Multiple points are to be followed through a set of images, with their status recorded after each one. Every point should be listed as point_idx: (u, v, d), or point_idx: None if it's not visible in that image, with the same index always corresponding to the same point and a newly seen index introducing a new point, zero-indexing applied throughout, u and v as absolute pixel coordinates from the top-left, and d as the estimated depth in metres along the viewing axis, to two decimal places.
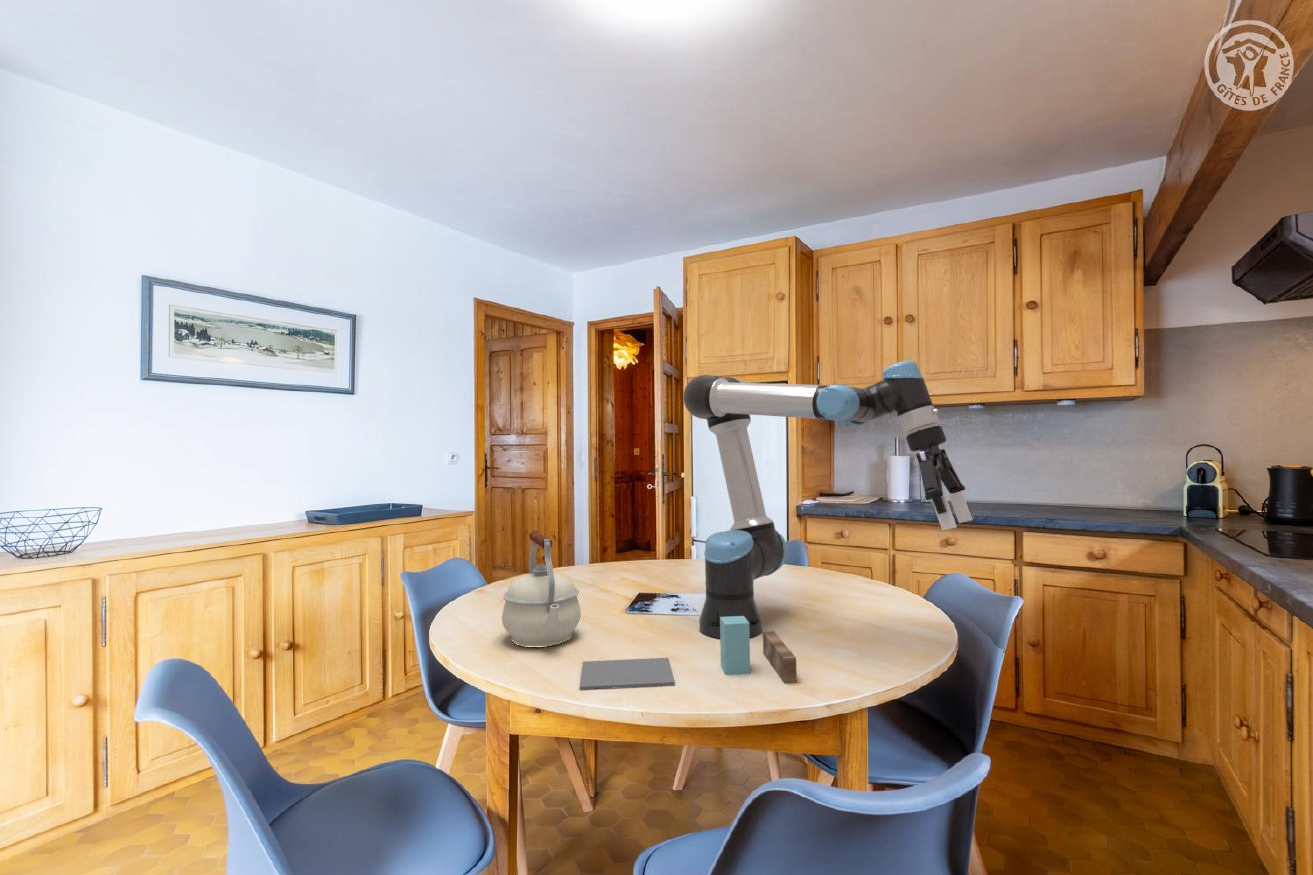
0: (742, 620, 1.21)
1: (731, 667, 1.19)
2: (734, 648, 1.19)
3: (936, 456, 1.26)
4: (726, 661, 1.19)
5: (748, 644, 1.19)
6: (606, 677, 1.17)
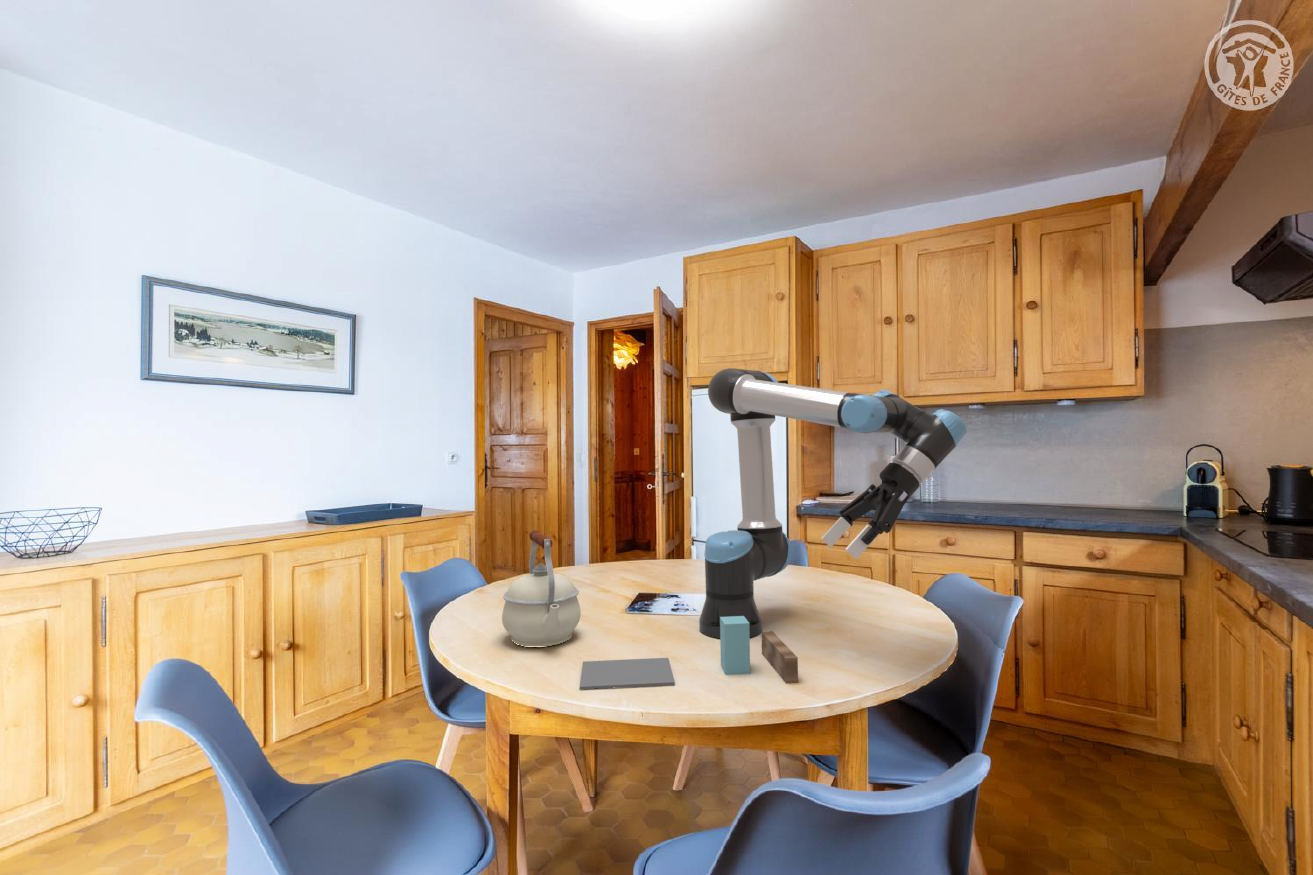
0: (742, 620, 1.21)
1: (731, 667, 1.19)
2: (734, 648, 1.19)
3: None
4: (726, 661, 1.19)
5: (748, 644, 1.19)
6: (606, 677, 1.17)
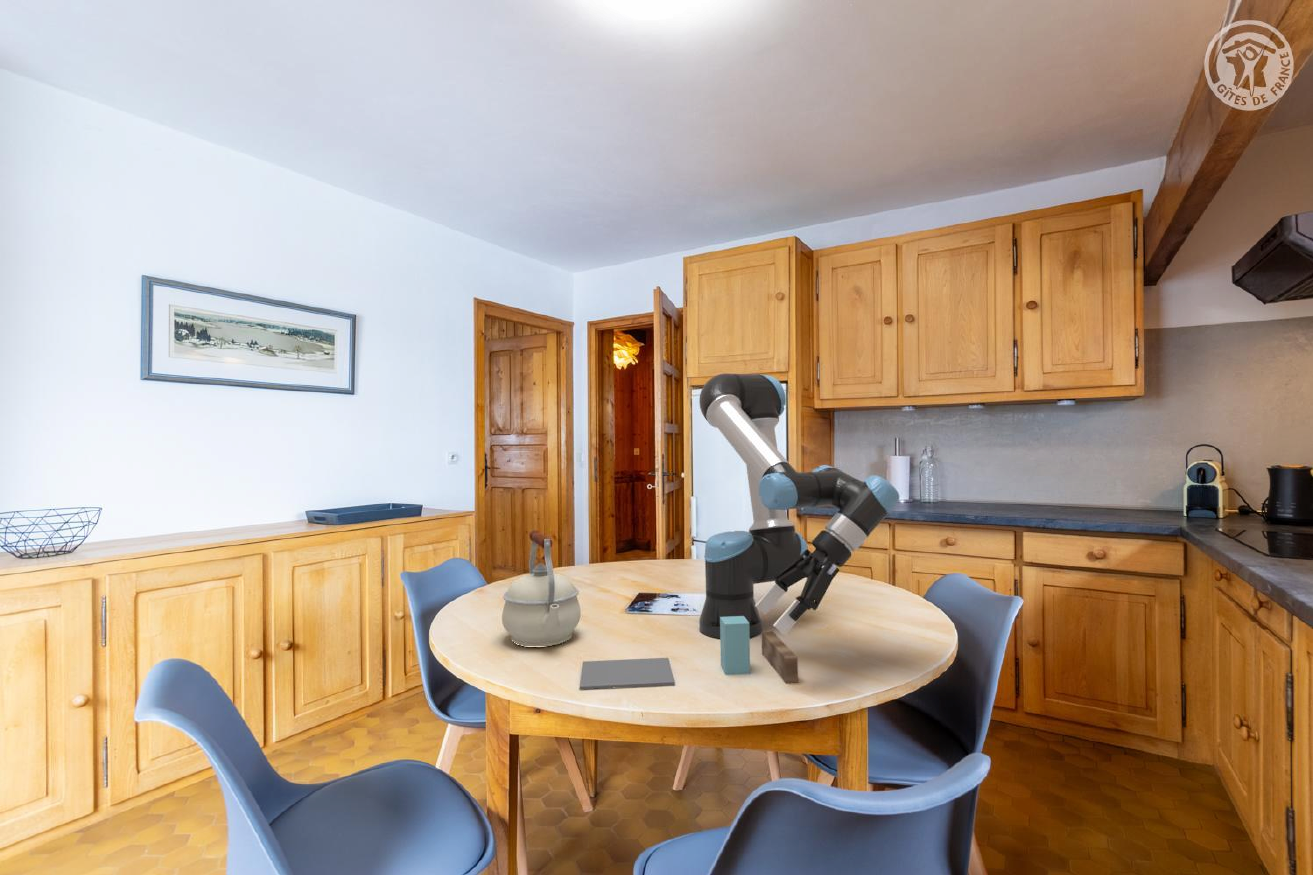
0: (742, 620, 1.21)
1: (731, 667, 1.19)
2: (734, 648, 1.19)
3: None
4: (726, 661, 1.19)
5: (748, 644, 1.19)
6: (606, 677, 1.17)
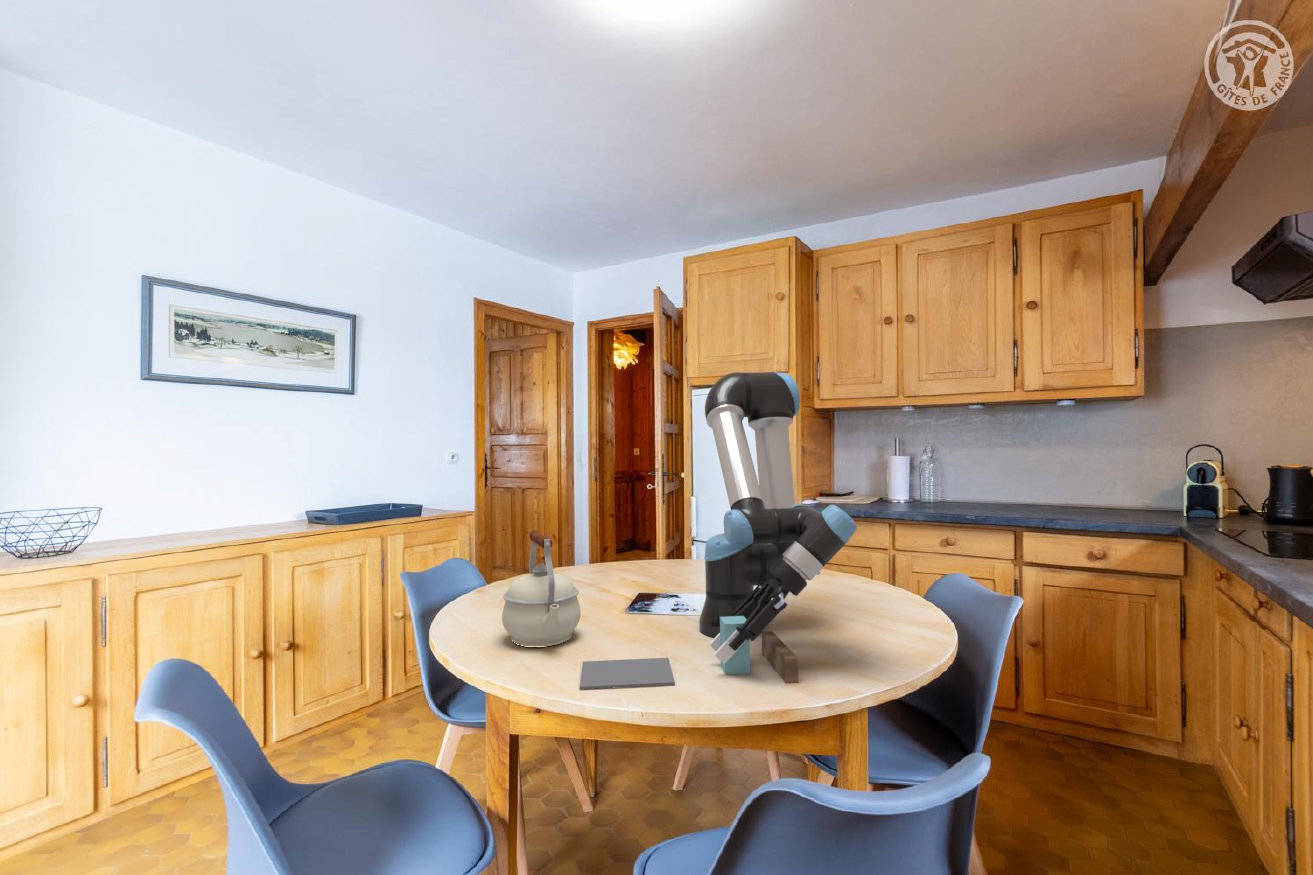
0: (742, 620, 1.21)
1: (731, 667, 1.19)
2: None
3: None
4: None
5: (748, 644, 1.19)
6: (606, 677, 1.17)
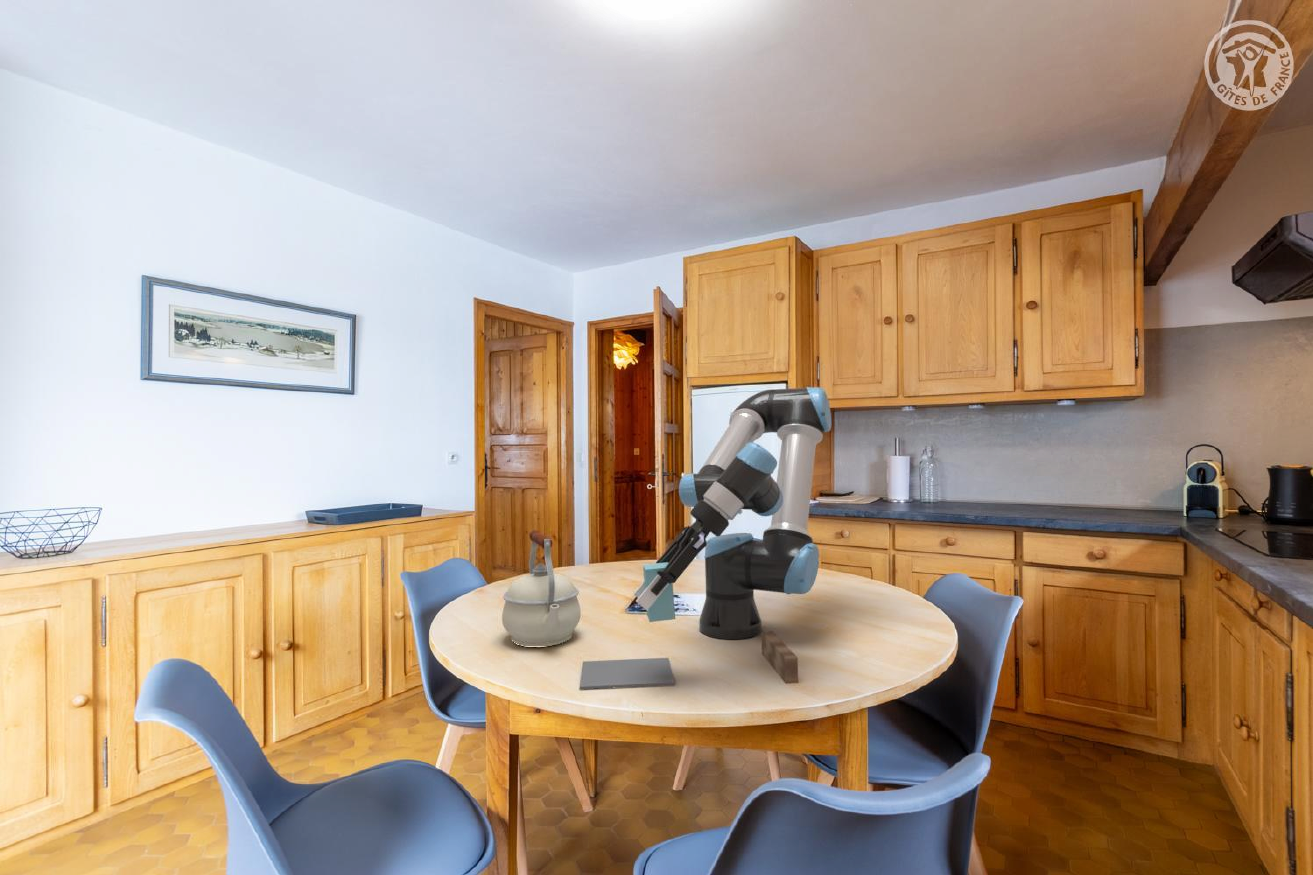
0: (665, 565, 1.17)
1: (655, 614, 1.14)
2: None
3: None
4: (649, 608, 1.14)
5: (671, 589, 1.15)
6: (606, 677, 1.17)
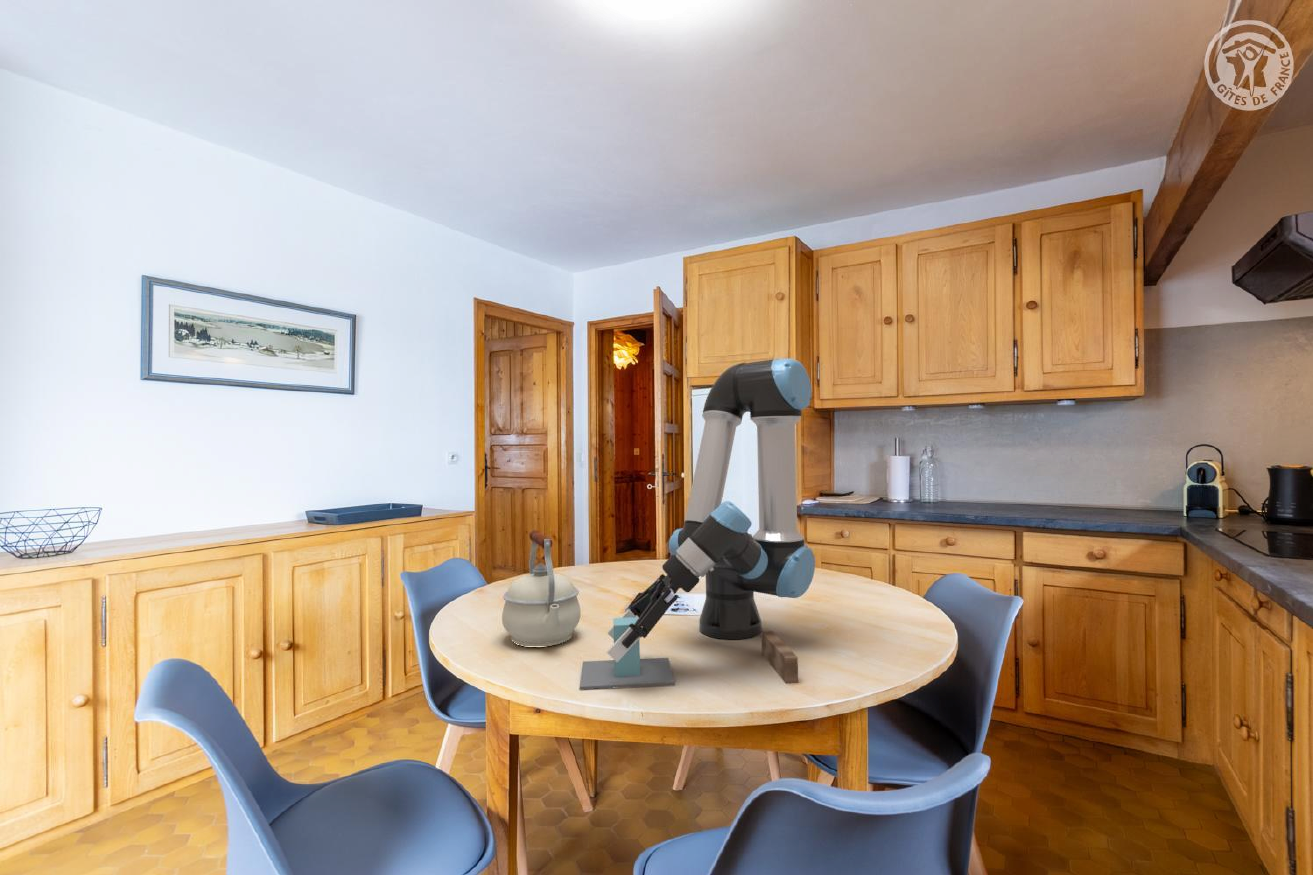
0: (633, 621, 1.19)
1: (620, 669, 1.17)
2: None
3: None
4: (615, 663, 1.17)
5: (638, 646, 1.17)
6: (606, 677, 1.17)
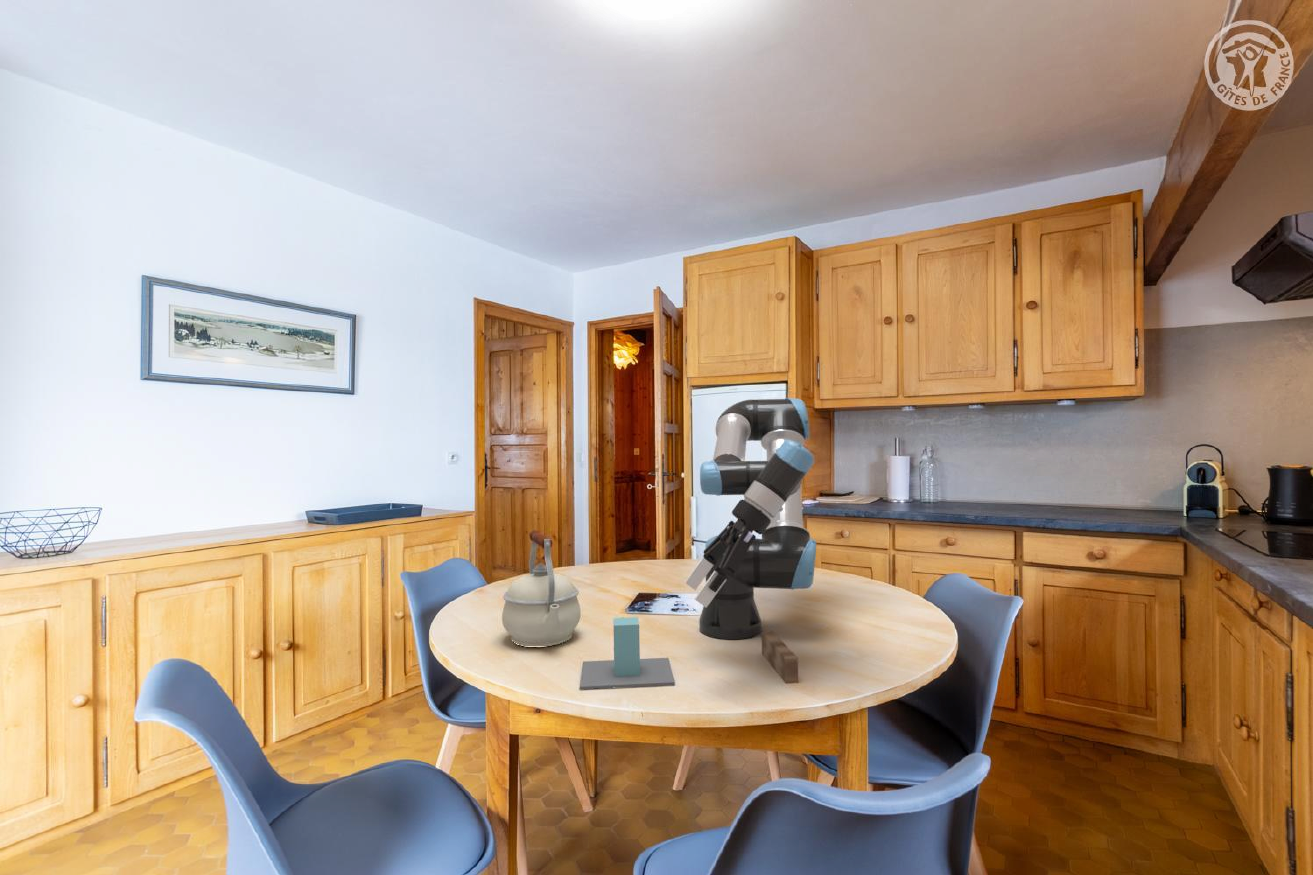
0: (633, 621, 1.19)
1: (620, 669, 1.17)
2: (623, 649, 1.17)
3: None
4: (615, 663, 1.17)
5: (638, 646, 1.17)
6: (606, 677, 1.17)
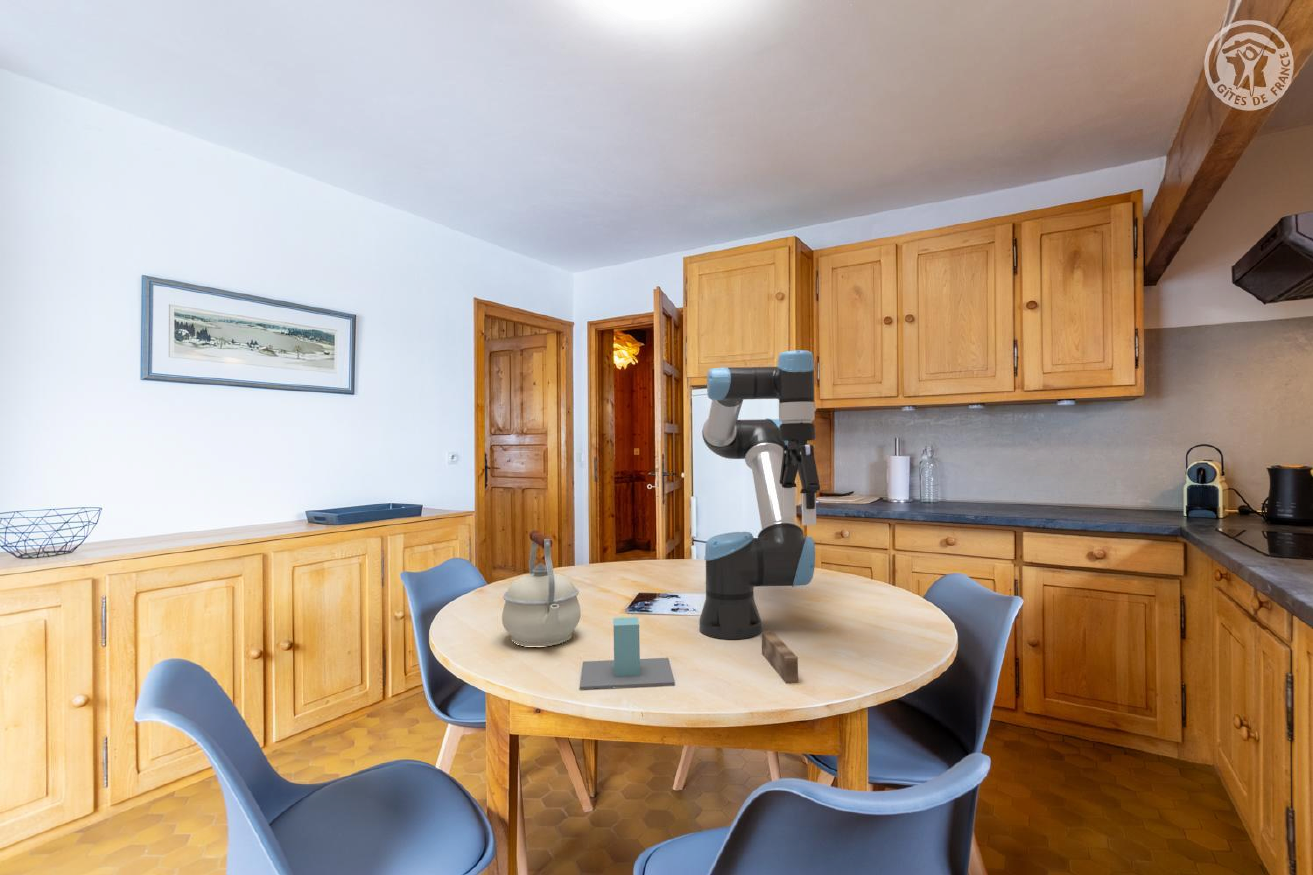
0: (633, 621, 1.19)
1: (620, 669, 1.17)
2: (623, 649, 1.17)
3: None
4: (615, 663, 1.17)
5: (638, 646, 1.17)
6: (606, 677, 1.17)
